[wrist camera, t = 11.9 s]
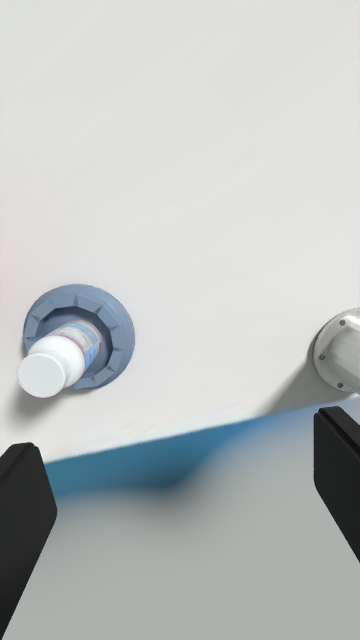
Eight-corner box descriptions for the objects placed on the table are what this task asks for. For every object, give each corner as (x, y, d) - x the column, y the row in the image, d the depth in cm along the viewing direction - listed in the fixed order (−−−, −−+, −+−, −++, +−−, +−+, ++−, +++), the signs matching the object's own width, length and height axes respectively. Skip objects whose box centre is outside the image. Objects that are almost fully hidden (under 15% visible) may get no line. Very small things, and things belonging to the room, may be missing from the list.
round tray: (125, 277, 35) (120, 279, 32) (142, 378, 39) (139, 388, 36) (15, 291, 35) (1, 294, 33) (43, 390, 39) (32, 401, 36)
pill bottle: (82, 368, 37) (43, 416, 26) (49, 338, 36) (-6, 375, 25) (112, 341, 36) (85, 379, 25) (79, 309, 35) (36, 334, 24)
